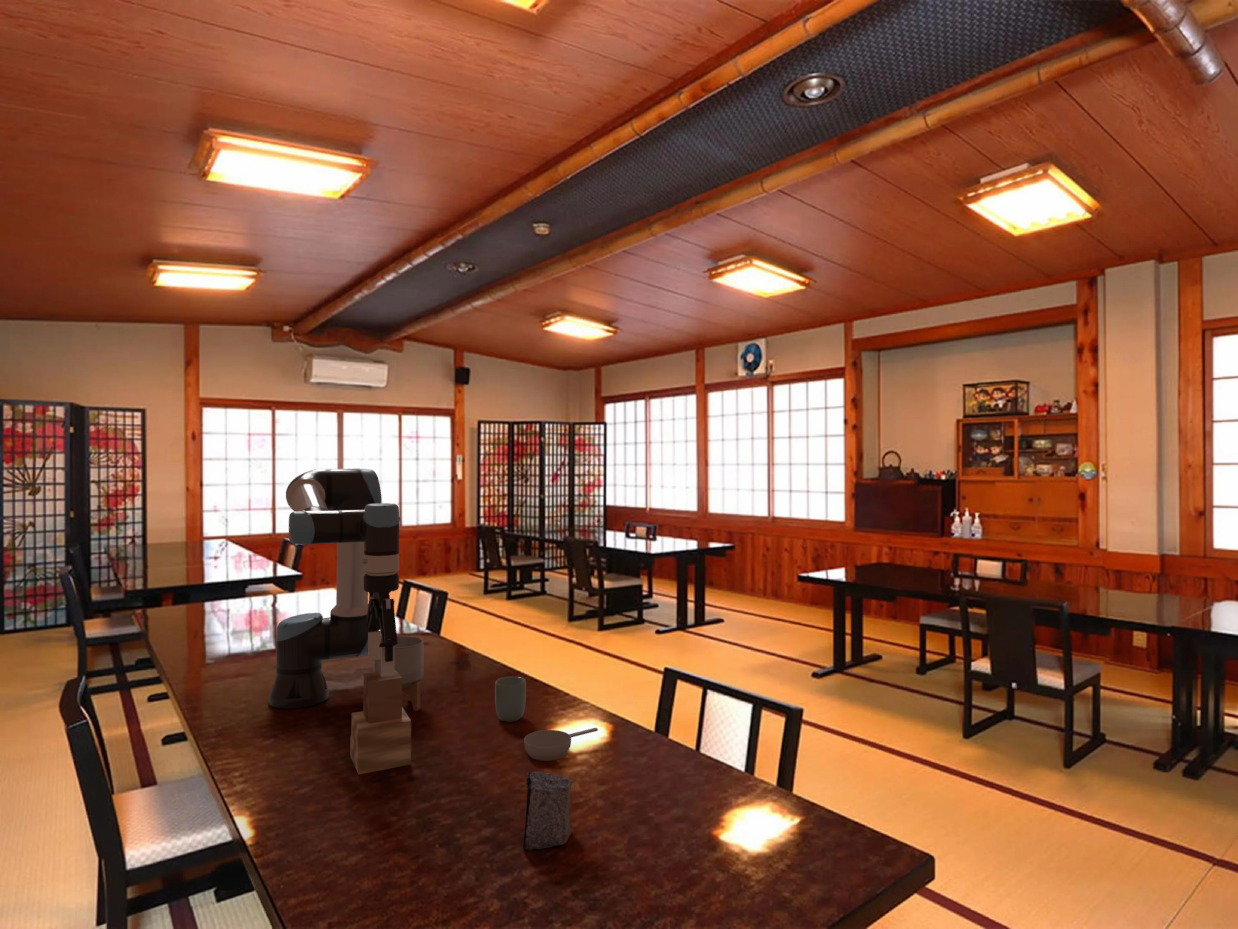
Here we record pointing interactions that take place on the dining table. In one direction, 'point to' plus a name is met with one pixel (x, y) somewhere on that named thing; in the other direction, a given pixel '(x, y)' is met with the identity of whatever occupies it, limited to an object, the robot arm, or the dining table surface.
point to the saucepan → (550, 743)
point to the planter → (408, 666)
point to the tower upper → (380, 732)
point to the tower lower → (380, 758)
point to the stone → (547, 810)
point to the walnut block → (382, 697)
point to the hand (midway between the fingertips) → (380, 667)
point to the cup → (510, 698)
